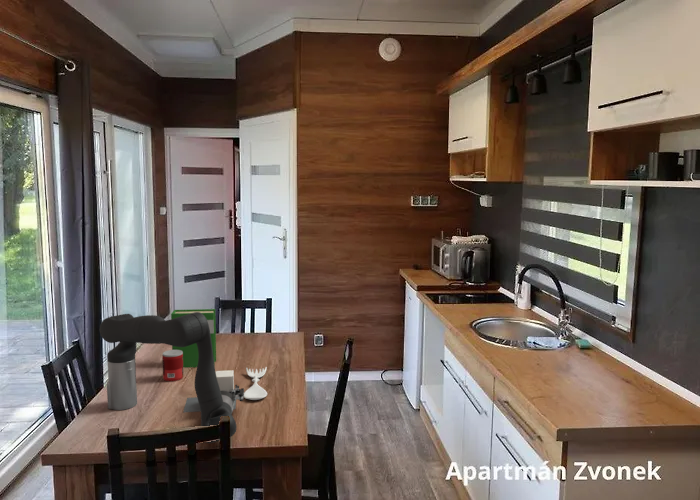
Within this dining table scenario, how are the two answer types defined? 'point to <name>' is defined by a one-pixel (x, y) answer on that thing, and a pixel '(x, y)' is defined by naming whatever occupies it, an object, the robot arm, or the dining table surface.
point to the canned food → (172, 365)
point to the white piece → (255, 385)
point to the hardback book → (192, 350)
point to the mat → (196, 405)
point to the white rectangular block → (225, 380)
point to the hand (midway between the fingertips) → (224, 387)
